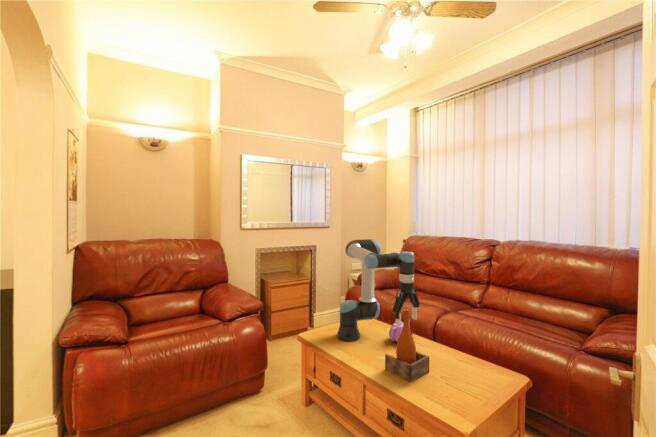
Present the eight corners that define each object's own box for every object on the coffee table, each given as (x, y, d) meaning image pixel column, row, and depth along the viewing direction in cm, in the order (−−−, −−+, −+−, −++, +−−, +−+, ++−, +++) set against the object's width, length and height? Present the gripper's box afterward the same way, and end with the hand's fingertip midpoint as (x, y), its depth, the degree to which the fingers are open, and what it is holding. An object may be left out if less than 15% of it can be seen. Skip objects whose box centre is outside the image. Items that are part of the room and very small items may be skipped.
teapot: (401, 333, 214) (401, 315, 214) (419, 340, 203) (419, 320, 203) (382, 341, 201) (382, 322, 201) (400, 348, 190) (400, 328, 190)
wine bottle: (416, 373, 158) (416, 314, 157) (396, 371, 160) (396, 313, 159) (415, 364, 168) (415, 308, 167) (396, 362, 170) (396, 307, 169)
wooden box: (385, 369, 165) (385, 354, 164) (403, 360, 175) (403, 346, 175) (410, 382, 152) (410, 366, 152) (429, 372, 162) (429, 356, 162)
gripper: (397, 286, 152) (397, 329, 152) (426, 279, 168) (426, 318, 168) (385, 283, 158) (385, 325, 158) (414, 277, 174) (414, 315, 174)
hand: (406, 322), depth 163 cm, fingers open, 13 cm apart
